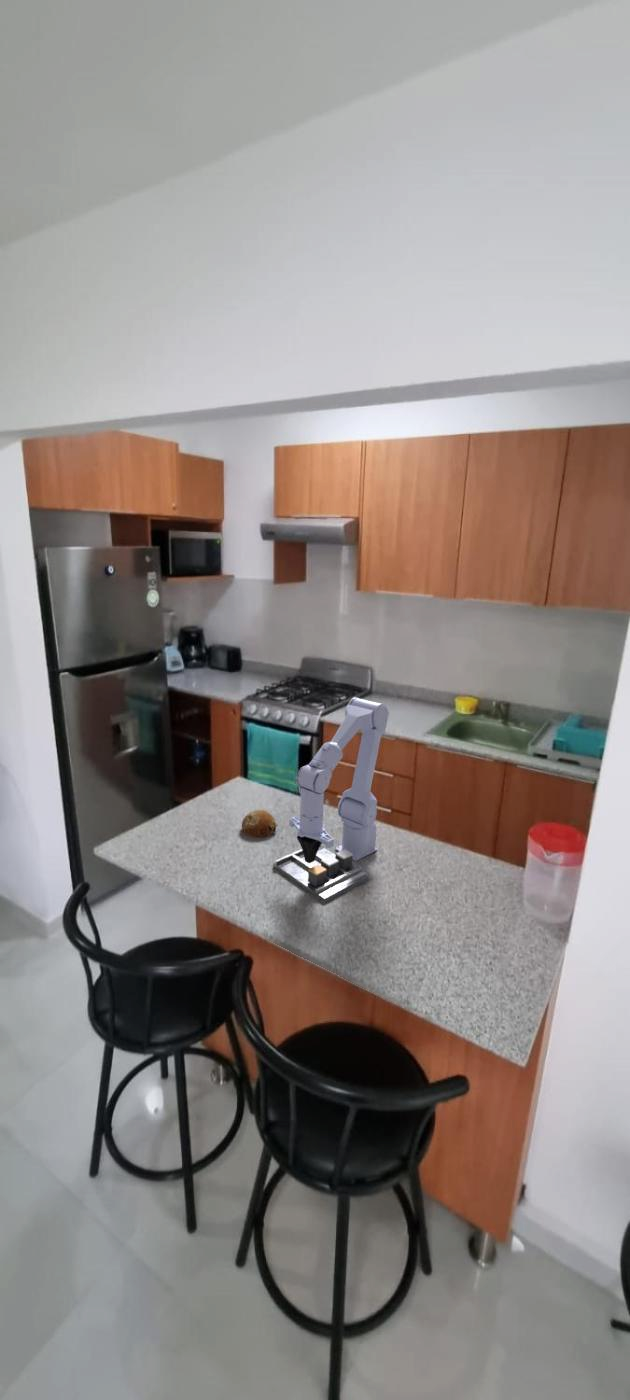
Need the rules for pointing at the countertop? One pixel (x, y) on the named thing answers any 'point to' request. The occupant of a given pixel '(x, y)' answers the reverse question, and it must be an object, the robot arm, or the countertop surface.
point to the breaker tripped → (317, 875)
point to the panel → (335, 884)
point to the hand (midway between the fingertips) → (309, 861)
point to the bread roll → (259, 824)
